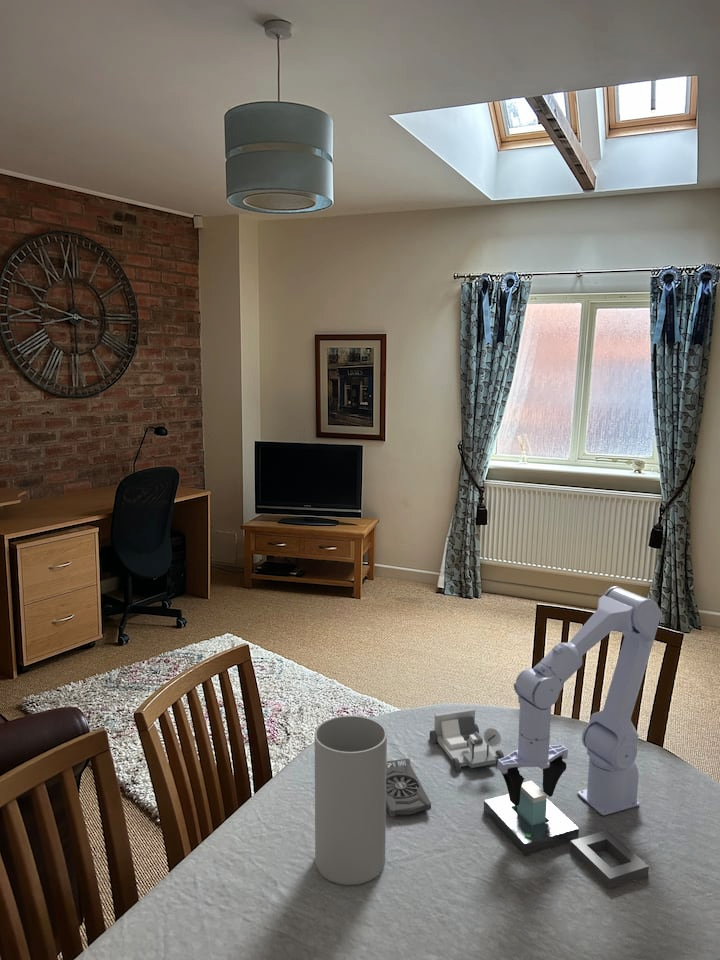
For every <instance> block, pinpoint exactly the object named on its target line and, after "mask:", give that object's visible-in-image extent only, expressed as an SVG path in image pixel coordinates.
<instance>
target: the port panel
mask: <svg viewBox="0 0 720 960" xmlns="http://www.w3.org/2000/svg"><path fill="white" fill-rule="evenodd" d="M483 813H484V814H485V815H486V816H487V817H488V818H489V819H490V820H491V822H492V823H493V824H494V825H495V826H496V827H497V828H498V829H499V830H500V831H501V832H502V834H504V836H506V837H505V838H507V839H508V841H510V842H511V844H513V846H514V847H515V848H516V849H517V850H518V851H519V852H520V853H521V855H522V856H524V857H527V856H530V855H533V854H536V853H540V852H543V851H547V850H551V849H554V848H557V847H560V846H564V845H568V844H570V842H571V840H575V839H578V838H580V835H579V834H580V828H579V826H577V824H575V823H574V822H573V821H572V820H571V819H570V818H569V817H567V816H566V814H564V813H563V812H562V811H561V810H560V809H559V808H558V807H557V806H555V805H554V803H552V801H550V799H548V798H547V805H546V822H545V823H542V824H538V825H534V826H531V827H530V826H529V825H528V824H527V823H526V822H525V821H524V820H523V819H522V818H521V817H520V816H519V815H518V814H517V806H515V805H514V804H513V803H512V802H511V801H510V798H509V793H507V794H504V795H499V796H495V797H490V798H486V799H483Z"/></svg>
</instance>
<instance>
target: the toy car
mask: <svg viewBox="0 0 720 960" xmlns="http://www.w3.org/2000/svg"><path fill="white" fill-rule="evenodd" d="M475 721H476V709H475V708H474V707H470V708H463V709H460V710H453V711H452V710H451V711H447V712H439V713H435V714H434V728H433V729H432V730H430V731H429V739H430V741H431V742H432V744H437V743H438V745H439V746H440V747H441V748H442V750H443V751H444V753H446V754H447V756H448V757H449V758H450V759H451V768H452V769H453V770H454V772H455V773H460V772H461V767H467V766H468V767H470V768H471V769H473V768H474V769H475V768H479V767H484V766H488V765H489V766H491V765H495V764H497V762H498V759H501V758H504V757H505V755H504V753H503V751H502V750H501V749H496V750H494V749H493V748H496V747H498V746H499V745H500V744H501V742H502V736H501V734H500V732H499V731H498V730H497V729H495V728H493V727H488V728H486V729H485V731H484V733H483V736H482V735H480V729H479V726H478V724H477V723H476V722H475Z"/></svg>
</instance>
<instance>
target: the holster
mask: <svg viewBox="0 0 720 960" xmlns="http://www.w3.org/2000/svg"><path fill="white" fill-rule="evenodd" d="M603 850H607V851H608V852H609V853H610V855H612V856H613V857H614V858H615V859H616V860H618V861H619V862H620V863H621V864H620V865H616V866H614V867H610V865H609V864H608V863H607V862H605V861H604V860H603V859H602V858H601V857H600V856H599V855H598V854H597V853H596V852H600V851H603ZM569 851H570V852H571V853H572V854H573V855H574V856H575V857H576V858H577V859H578V860H579V861H580V862H581V863H582V864H583V865H584V866H585V867H586V868H587V869H588V870H589V871H590V872H591V873H592V874H593V875H594V876H595V877H596V878H597V879H598V880H599V881H600V882H601V883H602V884H603V885H604V886H605V887H606V888H607V889H608V890H611V889H614V888H616V887H620V886H623V885H626V884H629V883H632V882H636V881H638V880H641V879H645V878H647V877H649V872H650V866H649V865H648V864H647V863H646V862H645V861H644V860H643V859H641V858H640V857H639V856H638V855H637V854H636V853H635V852H634V851H632V849H630V848H629V846H627V845H626V844H625V843H624V842H622V841H621V840H620V839H619V838H618V837H617V836H616V835H614V834H613V832H611V831H610V830H609V829H605V830H602V831H599V832H597V833H593V834H589V835H584V836H581V837H579V838H578V839H575V840H571V842H570V843H569Z"/></svg>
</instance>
